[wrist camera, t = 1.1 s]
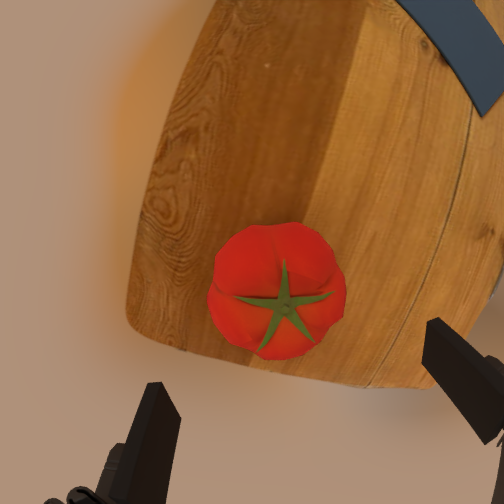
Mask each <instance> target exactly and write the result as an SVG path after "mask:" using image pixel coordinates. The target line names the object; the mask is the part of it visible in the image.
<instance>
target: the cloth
mask: <svg viewBox="0 0 504 504" xmlns="http://www.w3.org/2000/svg"><path fill="white" fill-rule="evenodd" d="M396 1H397V2H398V3H399V4H400V5H401V6H402V7H403V8H404V9H405V10H406V11H407V13H408V14H409V15H410V16H411V17H412V18H413V19H414V20H415V21H416V23H417V24H418V25H419V26H420V27H421V28H422V30H423V31H424V32H425V33H426V34H427V36H428V37H429V38H430V39H431V41H432V42H433V43H434V44H435V46H436V47H437V48H438V50H439V51H440V52H441V54H442V55H443V56H444V58H445V59H446V61H447V62H448V63H449V65H450V66H451V68H452V69H453V71H454V72H455V74H456V75H457V77H458V78H459V80H460V82H461V83H462V85H463V86H464V88H465V90H466V91H467V93H468V95H469V96H470V98H471V100H472V102H473V104H474V105H475V107H476V109H477V111H478V113H479V115H480V116H481V117H483V116H484V114H485V113H486V112H487V111H488V110H489V108H490V107H491V106H492V105H493V104H494V102H495V101H496V100H497V99H498V97H499V96H500V95H501V94H502V93H503V91H504V45H503V43H502V41H501V40H500V38H499V37H498V35H497V34H496V32H495V31H494V29H493V28H492V26H491V25H490V23H489V22H488V21H487V19H486V18H485V16H484V15H483V14H482V12H481V11H480V10H479V9H478V7H477V6H476V5H475V3H474V2H473V1H472V0H396Z"/></svg>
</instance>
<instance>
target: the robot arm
mask: <svg viewBox="0 0 504 504" xmlns="http://www.w3.org/2000/svg"><path fill="white" fill-rule="evenodd" d="M421 363H422V365H423V366H424V367H425V368H426V369H427V371H428V372H429V373H430V374H431V376H432V377H433V378H434V379H435V380H436V382H437V383H438V384H439V385H440V387H441V388H442V389H443V390H444V392H445V393H446V394H447V395H448V397H449V398H450V399H451V401H452V402H453V403H454V405H455V406H456V407H457V408H458V409H459V411H460V412H461V414H462V415H463V416H464V417H465V419H466V420H467V422H468V423H469V424H470V425H471V427H472V428H473V430H474V431H475V432H476V434H477V435H478V437H479V438H480V439H481V441H482V442H483V443H484V445H486V444H487V443H489V442H490V441H491V440H493V439H494V438H496V437H497V436H498V434H499V432H500V431H501V429H503V430H504V364H503V363H502V362H500V361H499V360H498V359H497V358H494V357H492V356H490V355H488V356H486V357H485V358H484V357H483V356H482V355H481V354H480V353H478V351H476V350H475V349H474V348H473V347H472V346H471V345H470V344H469V343H468V342H467V341H465V340H464V339H463V338H462V337H461V336H460V335H459V334H458V333H456V332H455V331H454V330H453V329H452V328H451V327H450V326H448V325H447V324H446V323H445V322H444V321H443V320H441V319H440V318H439V317H437V318H435V319H432V320H430V321H427V326H426V334H425V342H424V349H423V356H422V362H421ZM180 423H181V417H180V415H179V413H178V412H177V410H176V408H175V406H174V404H173V402H172V401H171V399H170V397H169V395H168V393H167V391H166V389H165V387H164V385H163V383H162V382H153V383H148V384H147V386H146V389H145V391H144V394H143V397H142V400H141V402H140V405H139V407H138V410H137V412H136V415H135V418H134V421H133V423H132V426H131V429H130V432H129V434H128V437H127V440H126V443H125V444H124V443H117V444H116V445H115V446H114V447H113V448H112V449H111V450H110V452H109V455H108V458H107V462H106V463H105V466H104V469H103V471H102V474H101V477H100V480H99V483H98V485H97V488H96V491H95V493H94V492H93V491H92V490H90V489H89V488H87V487H82V486H79V487H75V488H74V489H72V490H71V491H70V492H69V493H68V496H67V499H66V500H67V504H166V498H167V492H168V486H169V481H170V475H171V469H172V464H173V459H174V453H175V449H176V443H177V438H178V433H179V428H180ZM501 442H502V446H501V447H502V449H501V457H500V463H499V469H498V475H497V480H496V485H495V489H494V494H493V498H492V502H491V504H504V434H503V436H502V437H501V439H500V440H499V442H498V443H497V447H498V446H499V445H500V444H501ZM44 504H64V503H63V502H61V501H60V500H58V499H56V498H51V499H48V500H47V501H45V502H44Z"/></svg>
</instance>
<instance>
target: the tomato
mask: <svg viewBox="0 0 504 504" xmlns="http://www.w3.org/2000/svg"><path fill="white" fill-rule="evenodd" d="M345 301H346V285H345V278H344V275H343V273H342V272H341V270H340V268H339V267H338V265H337V263H336V260H335V257H334V253H333V250H332V249H331V247H330V246H329V245H328V244H327V242H326V241H325V240H324V239H323V238H322V236H321V235H320V234H319V233H318V232H316V231H314V230H312V229H310V228H309V227H307V226H305V225H303V224H301V223H299V222H289V223H283V224H277V225H251V226H249V227H247V228H245V229H244V230H242V231H240V232H238V233H237V234H235V235H233V236H232V237H231V238H230V239H229V240H228V241H227V243H226V244H225V245H224V246H223V247H222V248H221V250H220V251H219V252H218V253H217V254H216V255H215V265H214V276H213V282H212V284H211V287H210V289H209V292H208V294H207V304H208V308H209V311H210V314H211V317H212V320H213V323H214V324H215V326H216V327H217V328H218V329H219V331H220V332H221V333H222V335H223V336H224V337H225V338H226V339H227V341H228V342H229V343H230V344H233V345H237V346H240V347H244V348H246V349H248V350H250V351H252V352H254V353H255V354H257V355H258V356H260V357H261V358H263V359H264V360H286V359H290V358H294V357H298V356H301V355H303V354H305V353H306V352H307V351H309V350H310V349H311V348H313V347H314V346H315V345H317V344H318V343H319V342H321V340H322V339H323V337H324V335H325V334H326V332H327V331H328V329H329V328H330V326H332V325H333V324H334V323H336V322H337V321H338V320H340V319H341V318H342V317H343V313H344V307H345Z"/></svg>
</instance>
